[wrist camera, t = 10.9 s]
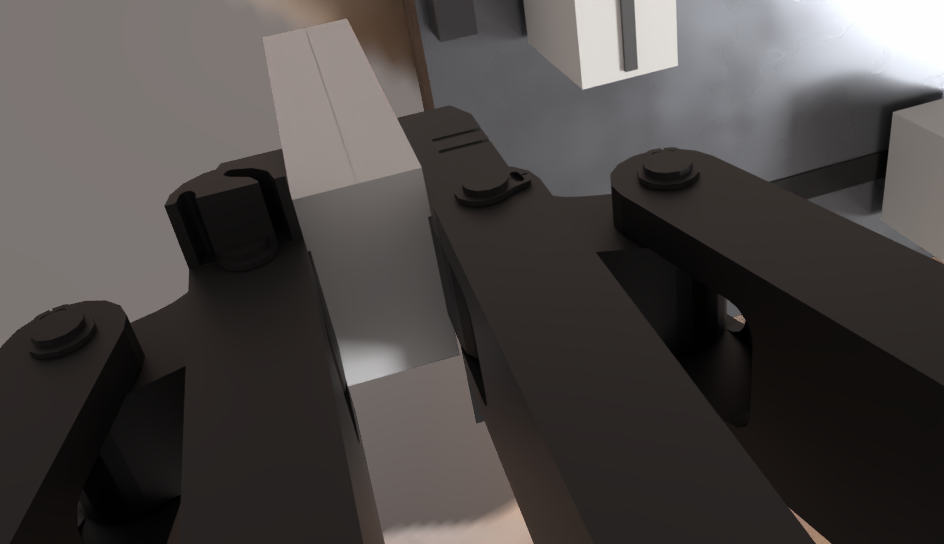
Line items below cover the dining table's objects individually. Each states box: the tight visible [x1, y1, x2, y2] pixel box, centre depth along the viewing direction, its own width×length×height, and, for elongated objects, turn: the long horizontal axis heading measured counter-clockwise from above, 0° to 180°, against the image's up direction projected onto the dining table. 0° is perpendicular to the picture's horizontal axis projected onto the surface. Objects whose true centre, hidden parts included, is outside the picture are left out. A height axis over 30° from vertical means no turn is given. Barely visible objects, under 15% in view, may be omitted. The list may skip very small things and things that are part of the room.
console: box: [403, 0, 944, 317], centre depth 27 cm, size 22×18×3 cm
